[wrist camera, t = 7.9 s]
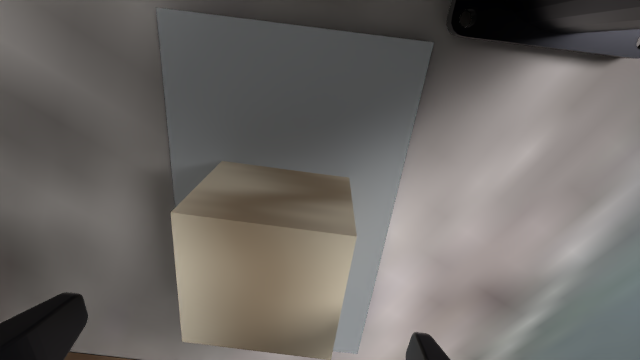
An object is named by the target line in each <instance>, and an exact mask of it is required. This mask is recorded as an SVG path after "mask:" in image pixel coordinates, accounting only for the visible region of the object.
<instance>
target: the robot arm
mask: <svg viewBox="0 0 640 360" xmlns="http://www.w3.org/2000/svg"><path fill="white" fill-rule="evenodd" d="M465 10H466V11H468V12H469V13H470V14H471V21H470V23H469V25H468V26H467V27H463V26H461V24H460V16H461V14H462V12H463V11H465ZM447 27H448V30H449V32H450V33H451V34H452V35H454V36H457V37H463V38H471V39H479V40H486V41H494V42H502V43H510V44H518V45H526V46H534V47H542V48H550V49H558V50H565V51H573V52H581V53H589V54H597V55H605V56H613V57H621V58H640V45H639V46H638V47H637V46H636V43H637V40H638V38H639V37H640V0H452V1H451V5H450V8H449V12H448V16H447ZM87 320H88V313H87V310H86V306H85V302H84V299H83V296H82V295H81V294H77V293H67V292H66V293H62V294H59V295H57V296H55V297H53V298H51V299H49V300H47V301H45V302H43V303H41V304H39V305H37V306H35V307H33V308H31V309H29V310H27V311H24V312H22V313H20V314H18V315H16V316H14V317H12V318H10V319H8V320H6V321H4V322H2V323H0V360H64V359H65V357H66V356H67V354H68V353H69V351H70V349H71V348H72V346H73V345H74V343H75V341H76V340H77V338H78V337H79V335H80V333H81V332H82V330H83V328H84V327H85V325H86V323H87ZM406 360H450V359H449V357H448V356H447V355H446V354H445V352H444V351H443V350H442V349H441V348H440V346H439V345H438V344H437V343H436V342H435V340H434V339H433V338H432V337H431V336H430V335H429V334H426V333H418V332H415V333H413V334H412V337H411V340H410V343H409V346H408V348H407V352H406Z"/></svg>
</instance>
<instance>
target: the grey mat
mask: <svg viewBox="0 0 640 360" xmlns="http://www.w3.org/2000/svg"><path fill="white" fill-rule="evenodd" d="M156 13H157V23H158V34H159V44H160V55H161V65H162V76H163V86H164V97H165V107H166V118H167V128H168V138H169V149H170V159H171V170H172V180H173V191H174V201H175V208H176V207H177V205H178V204H179V203H180V202H181V201H182V200H183V199H184V198H185V197H186V196H187V195H188V194H189V193H190V192H191V191H192V190H193V189H194V188H195V187H196V186H197V185H198V184H199V183H200V182H201V181H202V180H203V179H204V178H205V177H206V176H207V175H208V174H209V173H210V172H211V171H212V170H213V169H214V168H215V167H216V166H217V165H218V164H219V163H220V162H221V161H227V162H234V163H242V164H249V165H257V166H264V167H272V168H280V169H287V170H295V171H302V172H310V173H318V174H325V175H333V176H340V177H348V178H349V180H350V187H351V195H352V203H353V211H354V218H355V226H356V234H357V238H356V243H355V248H354V252H353V257H352V262H351V267H350V271H349V276H348V281H347V286H346V290H345V295H344V300H343V305H342V309H341V314H340V319H339V323H338V328H337V333H336V338H335V342H334V347H333V351H336V352H344V353H353V354H358V350H359V346H360V342H361V338H362V333H363V329H364V325H365V321H366V317H367V313H368V309H369V305H370V301H371V297H372V293H373V289H374V285H375V281H376V276H377V272H378V268H379V264H380V260H381V256H382V252H383V248H384V244H385V240H386V236H387V232H388V228H389V224H390V219H391V215H392V211H393V207H394V203H395V199H396V195H397V191H398V187H399V183H400V179H401V175H402V171H403V167H404V162H405V158H406V154H407V150H408V146H409V142H410V138H411V134H412V130H413V126H414V122H415V118H416V114H417V110H418V105H419V101H420V97H421V93H422V89H423V85H424V81H425V77H426V73H427V69H428V65H429V61H430V57H431V53H432V48H433V44H434V42H427V41H419V40H411V39H403V38H395V37H387V36H379V35H371V34H363V33H355V32H348V31H340V30H332V29H324V28H316V27H308V26H300V25H292V24H284V23H276V22H268V21H260V20H253V19H245V18H237V17H229V16H221V15H213V14H205V13H197V12H189V11H181V10H173V9H165V8H157V7H156Z"/></svg>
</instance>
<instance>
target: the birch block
mask: <svg viewBox="0 0 640 360" xmlns="http://www.w3.org/2000/svg"><path fill="white" fill-rule="evenodd" d="M171 224H172V235H173V246H174V257H175V268H176V279H177V290H178V301H179V312H180V323H181V334H182V342H188V343H196V344H204V345H212V346H220V347H228V348H237V349H245V350H253V351H261V352H269V353H277V354H286V355H294V356H302V357H310V358H318V359H326V360H331V357H332V352H333V347H334V342H335V338H336V333H337V328H338V323H339V319H340V314H341V309H342V305H343V300H344V295H345V290H346V286H347V281H348V276H349V271H350V267H351V262H352V257H353V252H354V248H355V243H356V238H357V234H356V226H355V218H354V211H353V203H352V195H351V187H350V180H349V178H348V177H340V176H333V175H325V174H318V173H310V172H302V171H295V170H287V169H280V168H272V167H264V166H257V165H249V164H242V163H234V162H227V161H221V162H220V163H219V164H218V165H217V166H216V167H215V168H214V169H213V170H212V171H211V172H210V173H209V174H208V175H207V176H206V177H205V178H204V179H203V180H202V181H201V182H200V183H199V184H198V185H197V186H196V187H195V188H194V189H193V190H192V191H191V192H190V193H189V194H188V195H187V196H186V197H185V198H184V199H183V200H182V201H181V202H180V203H179V204H178V205H177V207H176V208H175V209H174V210H173V211H172V212H171Z"/></svg>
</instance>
